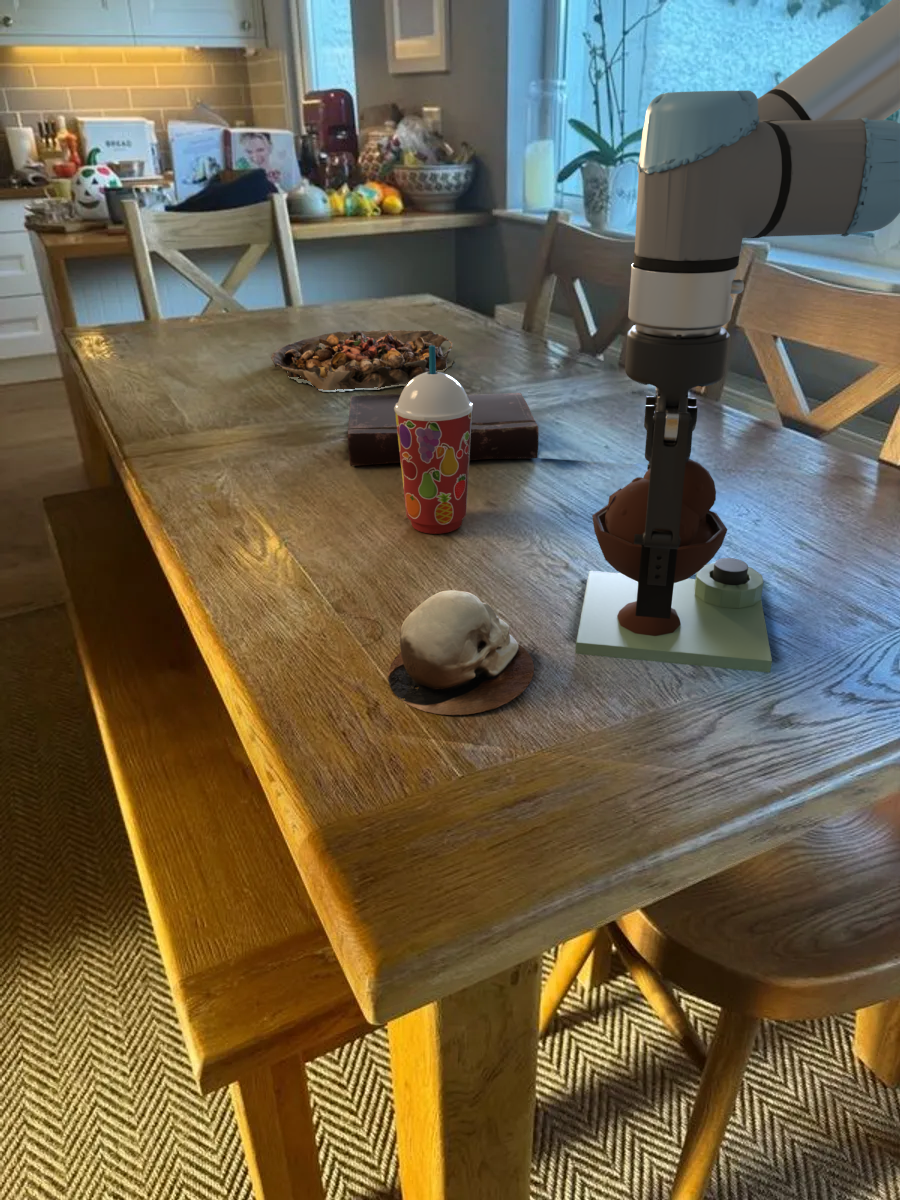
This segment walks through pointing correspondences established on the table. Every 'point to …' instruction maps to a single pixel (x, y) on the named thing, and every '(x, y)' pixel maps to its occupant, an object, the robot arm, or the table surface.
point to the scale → (708, 623)
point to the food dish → (361, 358)
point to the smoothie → (434, 449)
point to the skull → (458, 657)
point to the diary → (494, 428)
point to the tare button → (730, 571)
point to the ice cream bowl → (629, 518)
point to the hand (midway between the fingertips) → (654, 577)
